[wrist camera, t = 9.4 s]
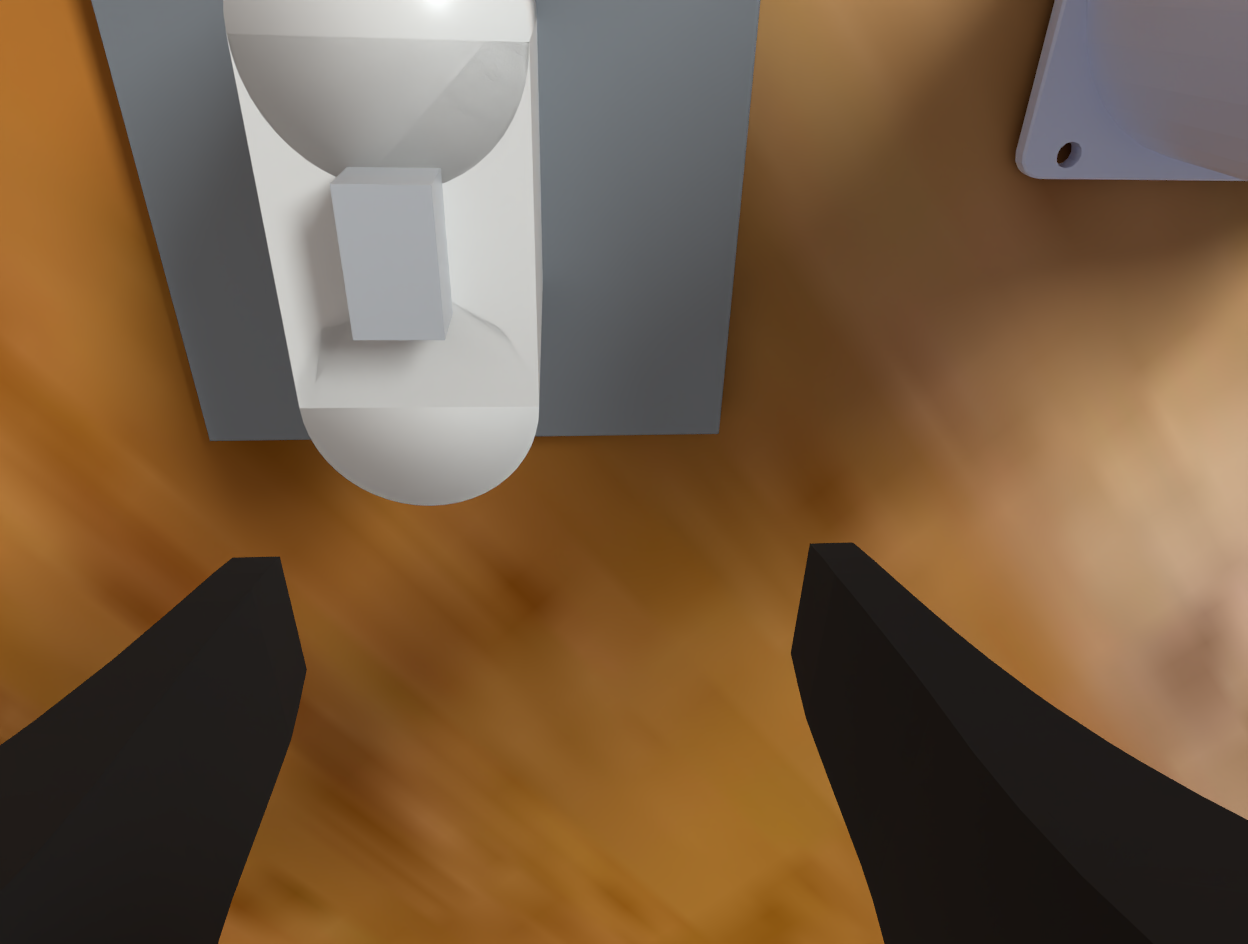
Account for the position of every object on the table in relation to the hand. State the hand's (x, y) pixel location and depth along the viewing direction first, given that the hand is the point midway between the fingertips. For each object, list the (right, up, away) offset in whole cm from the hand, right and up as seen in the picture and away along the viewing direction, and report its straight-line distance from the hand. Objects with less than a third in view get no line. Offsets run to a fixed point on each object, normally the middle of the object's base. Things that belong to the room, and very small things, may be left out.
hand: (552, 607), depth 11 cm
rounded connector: (-2, +8, +5) cm, 10 cm away
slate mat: (-3, +8, +6) cm, 10 cm away
